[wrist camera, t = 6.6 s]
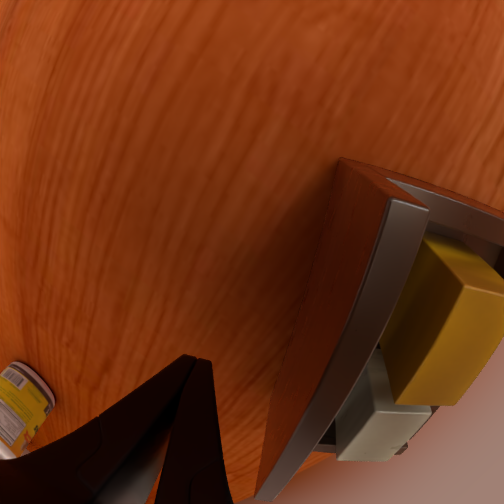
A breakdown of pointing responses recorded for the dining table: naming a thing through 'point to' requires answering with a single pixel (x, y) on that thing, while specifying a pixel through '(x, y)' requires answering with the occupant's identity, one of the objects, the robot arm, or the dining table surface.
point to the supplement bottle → (21, 408)
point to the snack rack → (385, 321)
